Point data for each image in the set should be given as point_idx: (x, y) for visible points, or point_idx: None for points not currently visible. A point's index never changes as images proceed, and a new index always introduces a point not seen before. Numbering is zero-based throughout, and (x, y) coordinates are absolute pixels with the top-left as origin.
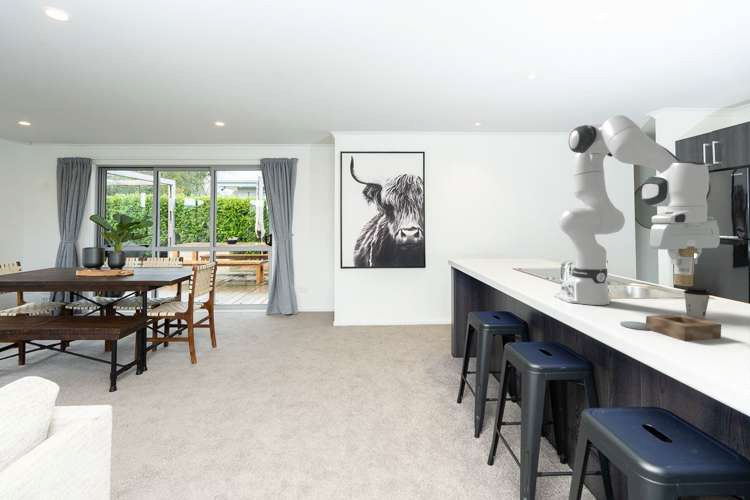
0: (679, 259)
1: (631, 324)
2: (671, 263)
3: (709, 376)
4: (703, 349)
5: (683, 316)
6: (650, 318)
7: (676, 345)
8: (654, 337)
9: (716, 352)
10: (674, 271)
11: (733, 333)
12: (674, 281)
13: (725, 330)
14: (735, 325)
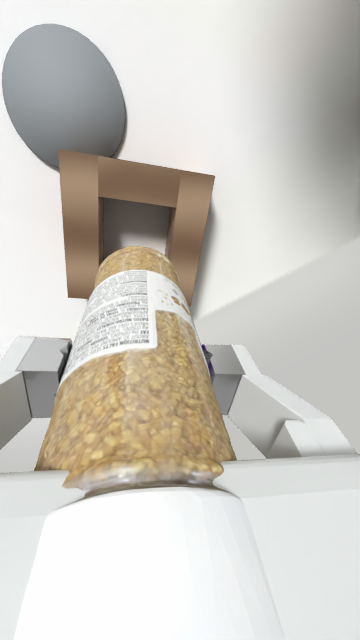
0: (44, 412)
1: (48, 87)
2: (20, 341)
3: None
4: (62, 330)
5: (190, 207)
6: (60, 171)
7: (23, 299)
8: (19, 234)
9: None
10: (94, 293)
11: (258, 272)
12: (100, 271)
13: (274, 248)
14: (355, 224)
